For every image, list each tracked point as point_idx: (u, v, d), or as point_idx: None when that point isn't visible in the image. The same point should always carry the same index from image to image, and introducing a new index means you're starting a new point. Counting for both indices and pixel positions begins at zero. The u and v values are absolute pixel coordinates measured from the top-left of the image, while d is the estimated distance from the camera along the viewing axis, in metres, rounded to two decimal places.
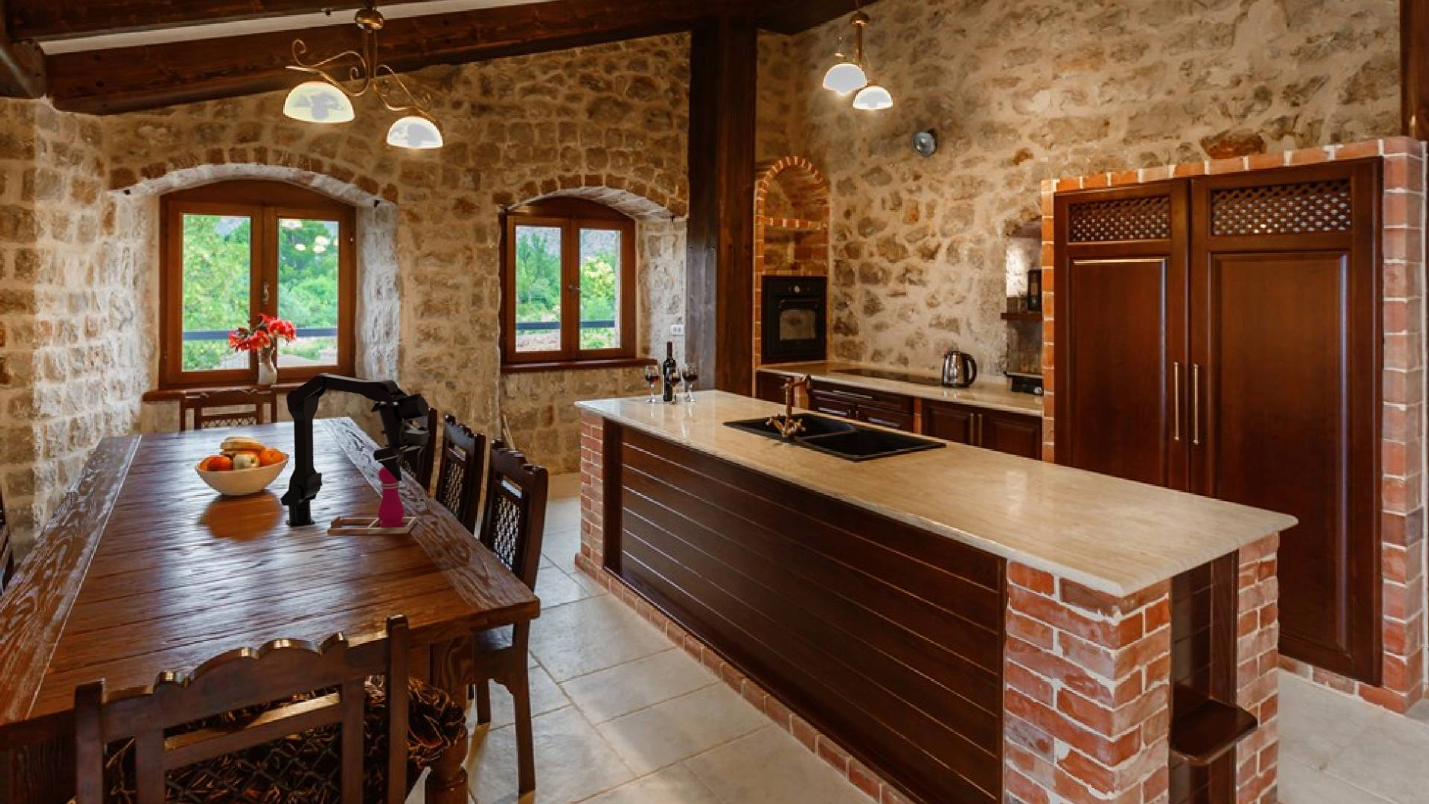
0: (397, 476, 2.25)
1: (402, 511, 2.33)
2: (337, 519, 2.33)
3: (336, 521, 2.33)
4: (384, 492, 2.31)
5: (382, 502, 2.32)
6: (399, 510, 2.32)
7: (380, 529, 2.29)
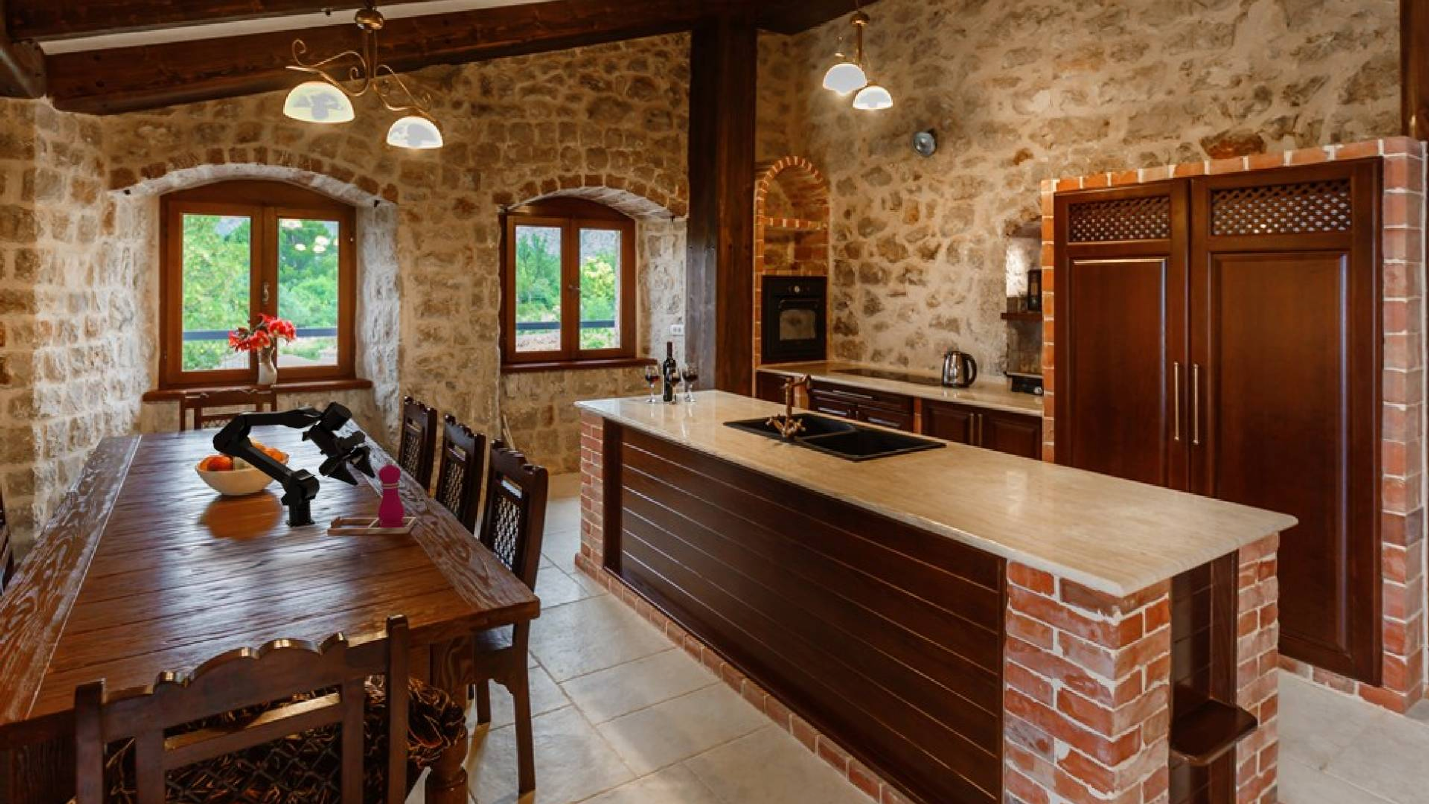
0: (352, 481, 2.28)
1: (402, 511, 2.33)
2: (337, 519, 2.33)
3: (336, 521, 2.33)
4: (384, 492, 2.31)
5: (382, 502, 2.32)
6: (399, 510, 2.32)
7: (380, 529, 2.29)
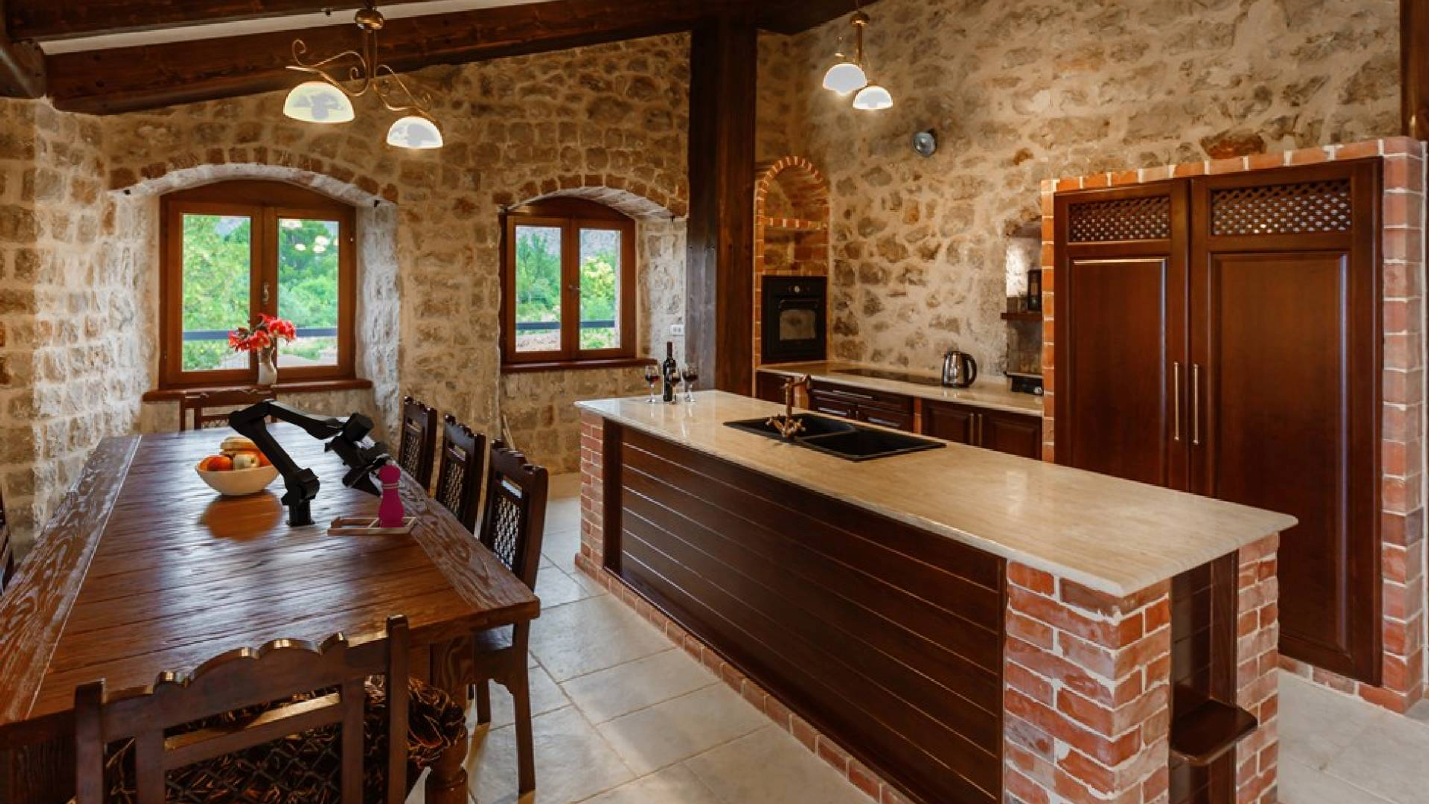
0: (375, 492, 2.28)
1: (402, 511, 2.33)
2: (337, 519, 2.33)
3: (336, 521, 2.33)
4: (384, 492, 2.31)
5: (382, 502, 2.32)
6: (399, 510, 2.32)
7: (380, 529, 2.29)
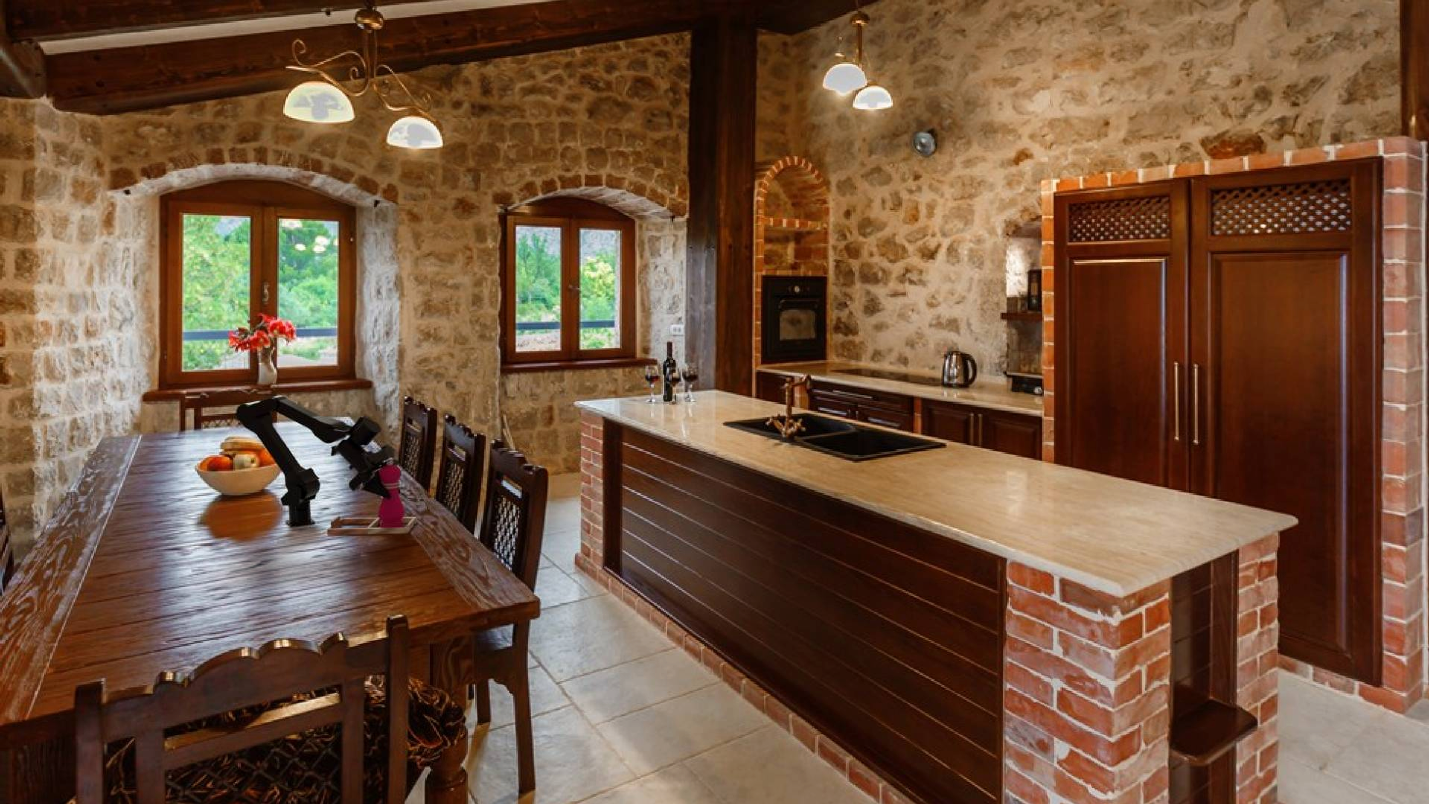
0: (385, 494, 2.30)
1: (402, 511, 2.33)
2: (337, 519, 2.33)
3: (336, 521, 2.33)
4: None
5: (382, 502, 2.32)
6: (399, 510, 2.32)
7: (380, 529, 2.29)
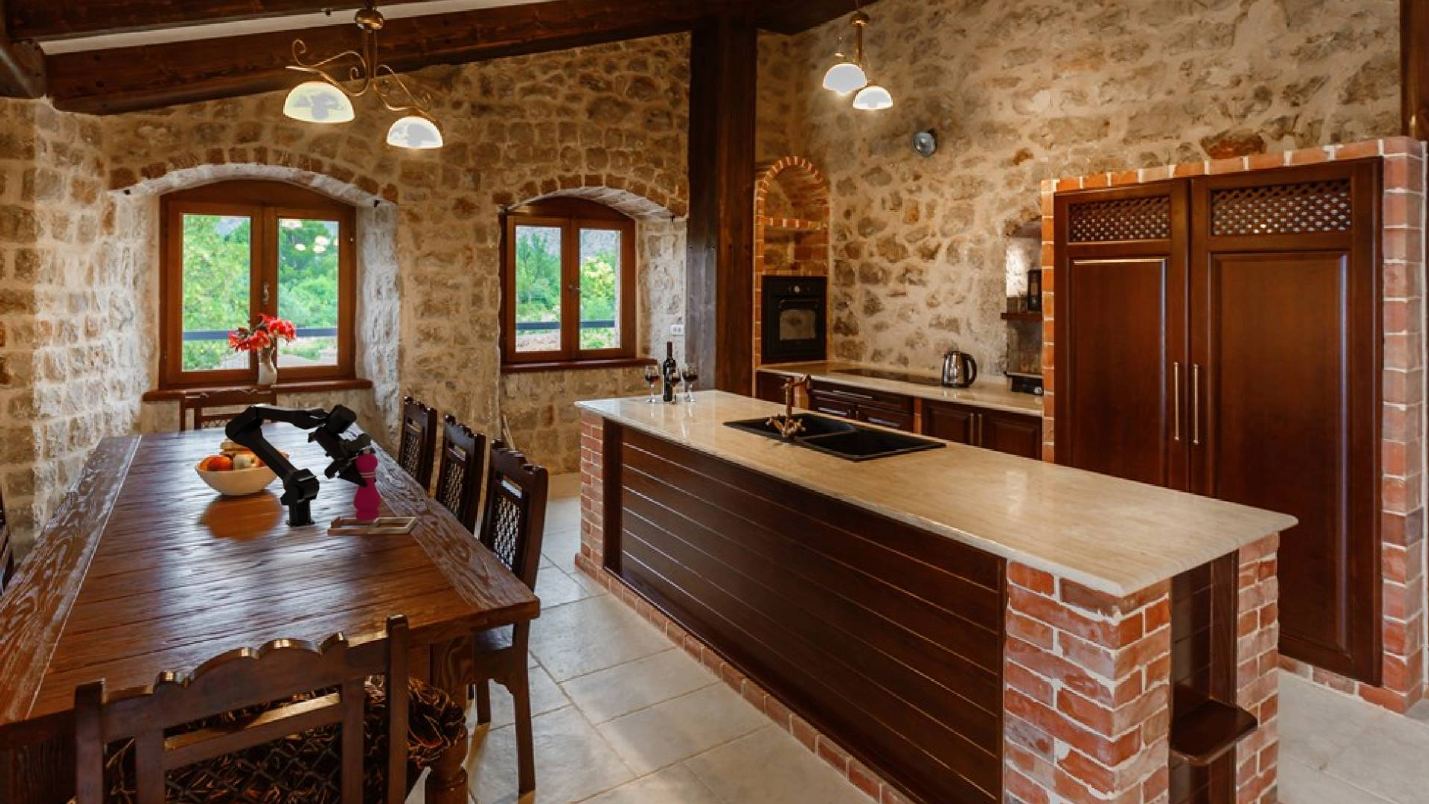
0: (361, 482, 2.29)
1: (378, 500, 2.33)
2: (337, 519, 2.33)
3: (336, 521, 2.33)
4: None
5: (358, 491, 2.31)
6: (375, 499, 2.31)
7: (380, 529, 2.29)
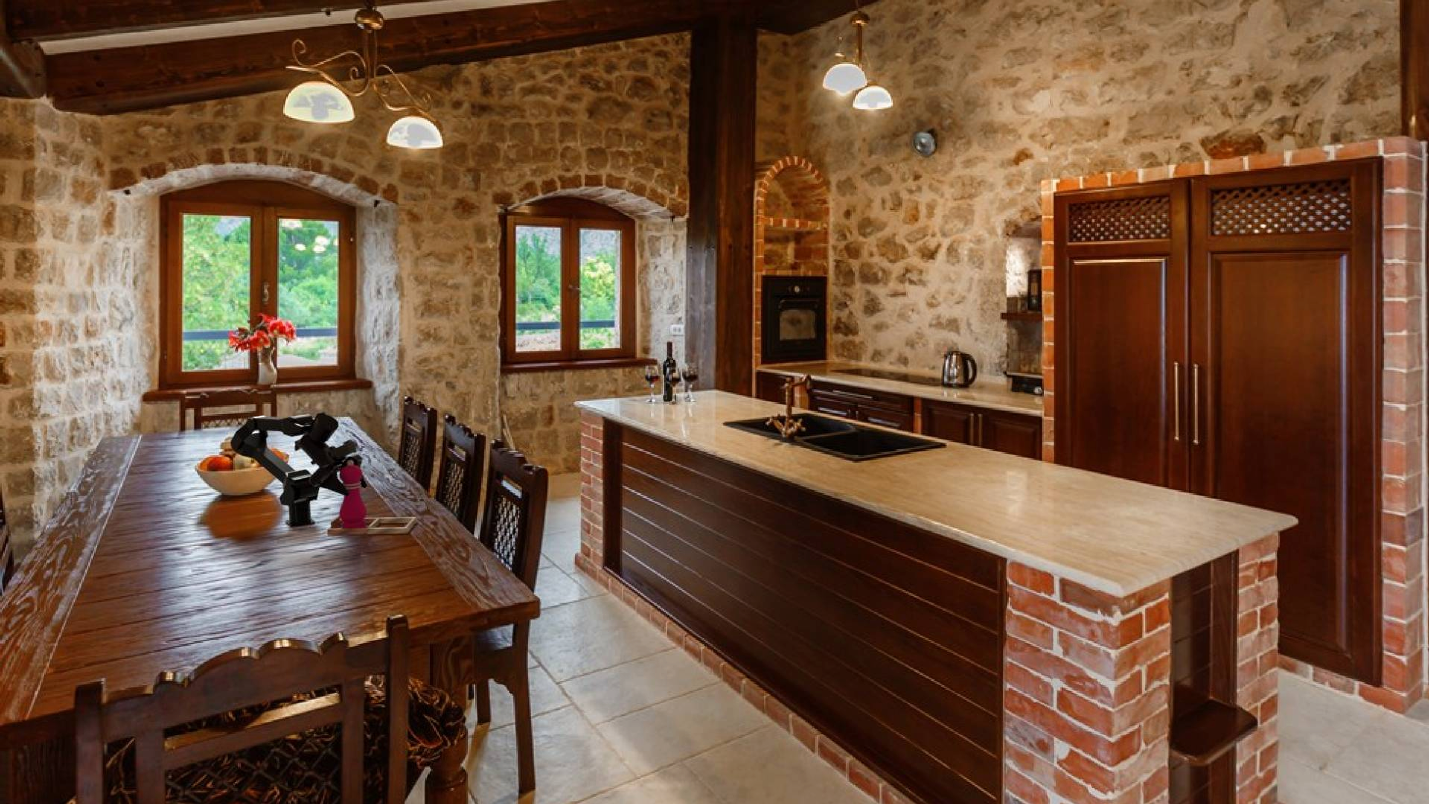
0: (343, 491, 2.27)
1: (364, 511, 2.32)
2: (337, 519, 2.33)
3: (336, 521, 2.33)
4: None
5: (343, 502, 2.31)
6: (360, 511, 2.31)
7: (380, 529, 2.29)
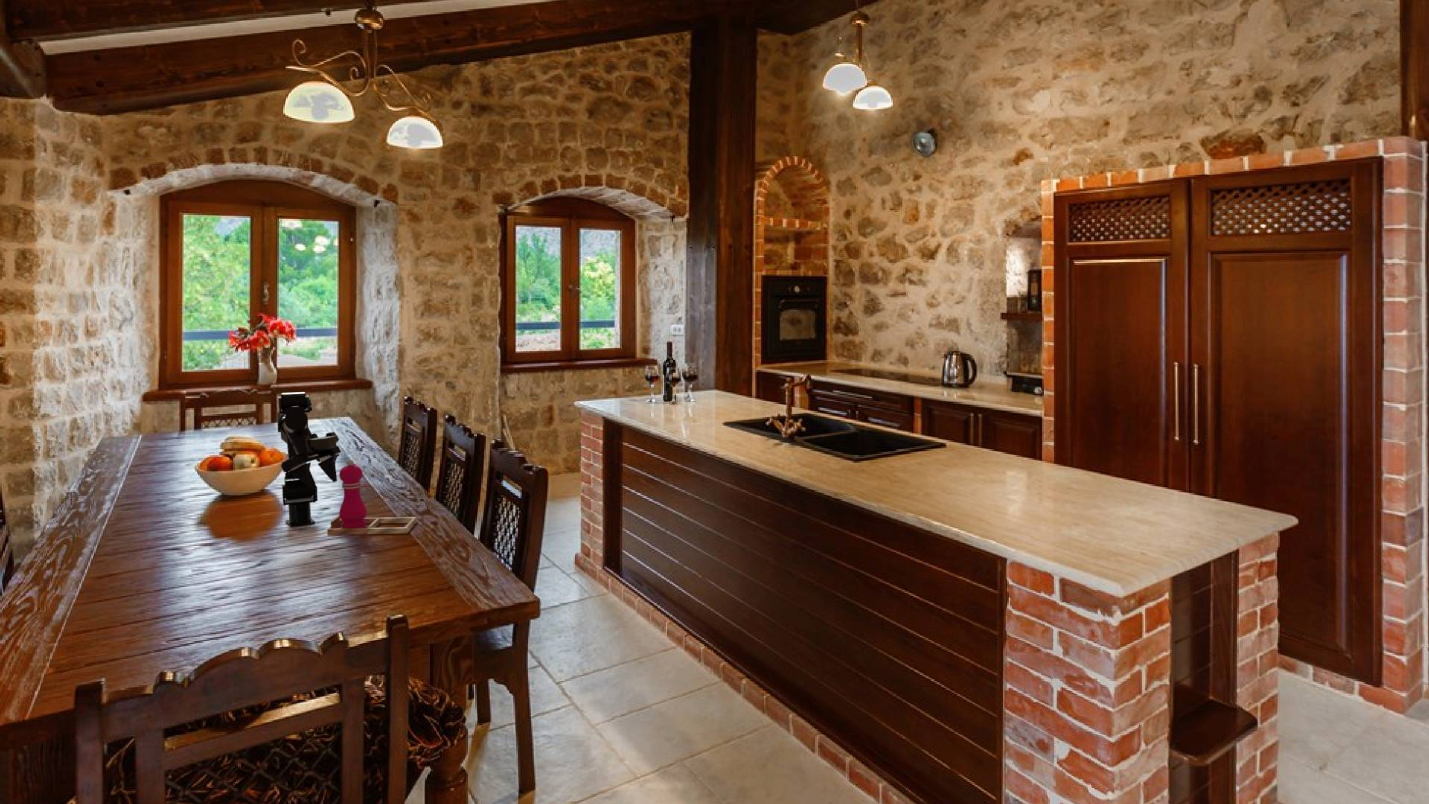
0: (310, 484, 2.24)
1: (364, 511, 2.32)
2: (337, 519, 2.33)
3: (336, 521, 2.33)
4: (345, 492, 2.31)
5: (343, 502, 2.31)
6: (360, 510, 2.31)
7: (380, 529, 2.29)
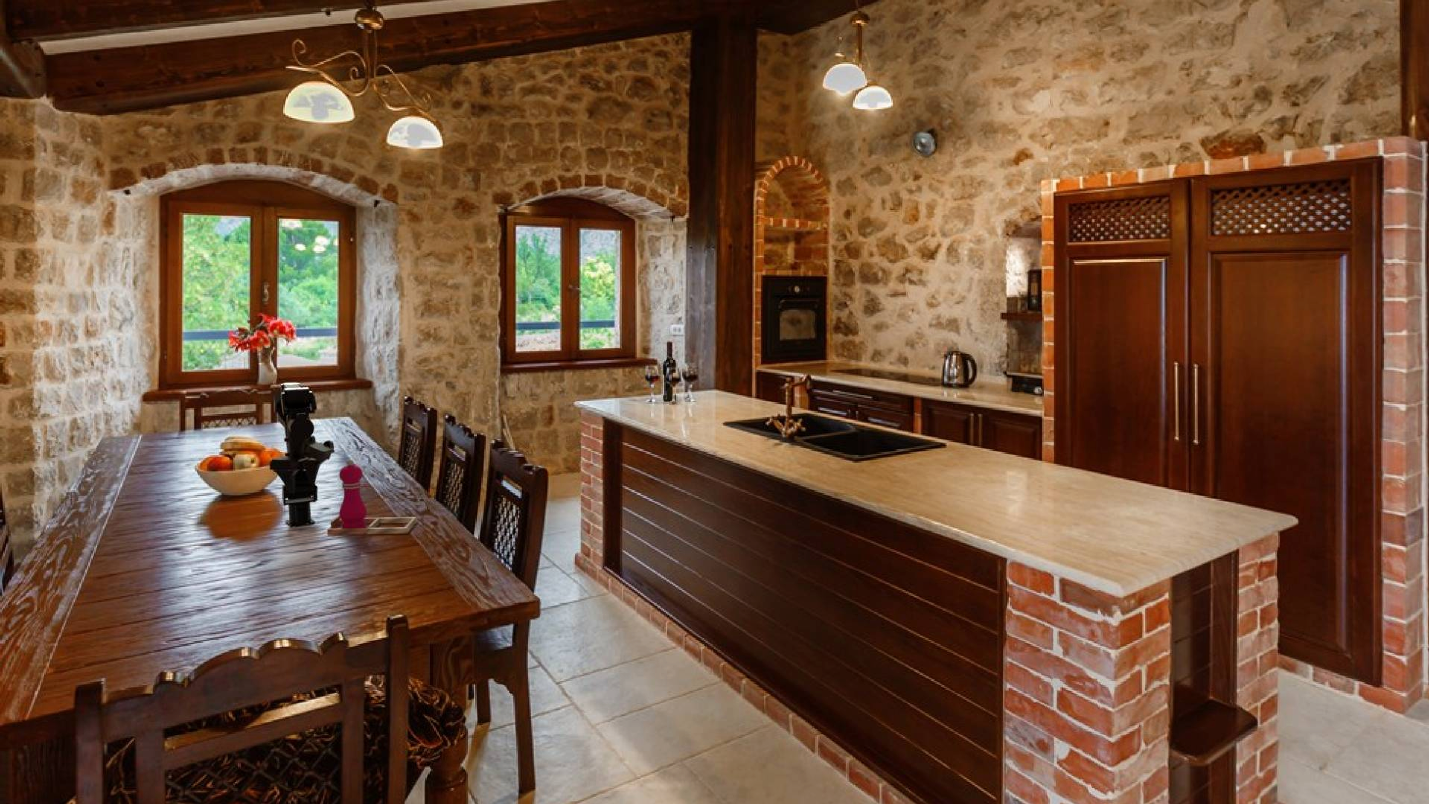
0: (290, 487, 2.21)
1: (364, 511, 2.32)
2: (337, 519, 2.33)
3: (336, 521, 2.33)
4: (345, 492, 2.31)
5: (343, 502, 2.31)
6: (360, 510, 2.31)
7: (380, 529, 2.29)
